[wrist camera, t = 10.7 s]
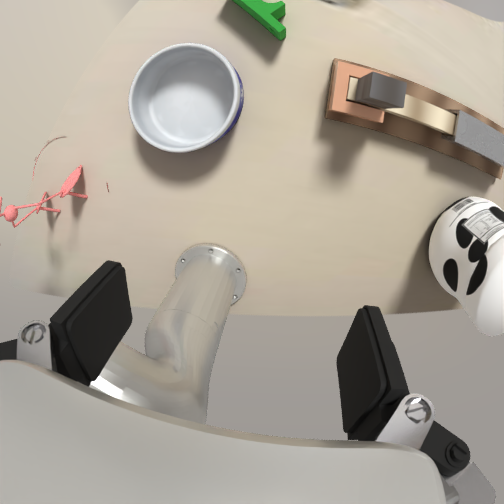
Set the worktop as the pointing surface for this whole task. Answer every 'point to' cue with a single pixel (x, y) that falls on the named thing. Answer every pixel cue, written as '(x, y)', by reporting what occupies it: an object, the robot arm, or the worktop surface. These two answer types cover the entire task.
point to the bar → (398, 101)
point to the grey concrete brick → (477, 137)
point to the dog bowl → (185, 98)
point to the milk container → (472, 260)
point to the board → (418, 131)
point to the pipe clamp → (266, 15)
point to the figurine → (12, 211)
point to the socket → (340, 92)
